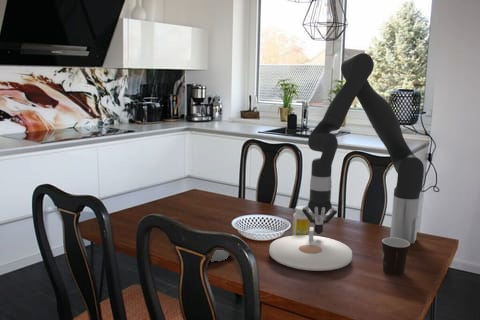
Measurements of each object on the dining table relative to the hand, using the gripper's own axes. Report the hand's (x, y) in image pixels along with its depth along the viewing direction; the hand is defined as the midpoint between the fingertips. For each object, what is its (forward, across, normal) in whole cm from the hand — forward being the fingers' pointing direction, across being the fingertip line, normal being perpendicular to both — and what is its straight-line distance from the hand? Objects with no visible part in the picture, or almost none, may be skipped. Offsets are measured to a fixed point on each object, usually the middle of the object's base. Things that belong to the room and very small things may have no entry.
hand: (318, 233), depth 175 cm
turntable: (+3, +3, +12) cm, 12 cm away
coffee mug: (+6, -23, +19) cm, 30 cm away
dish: (+5, +36, +14) cm, 39 cm away
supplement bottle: (+5, +6, -11) cm, 14 cm away
